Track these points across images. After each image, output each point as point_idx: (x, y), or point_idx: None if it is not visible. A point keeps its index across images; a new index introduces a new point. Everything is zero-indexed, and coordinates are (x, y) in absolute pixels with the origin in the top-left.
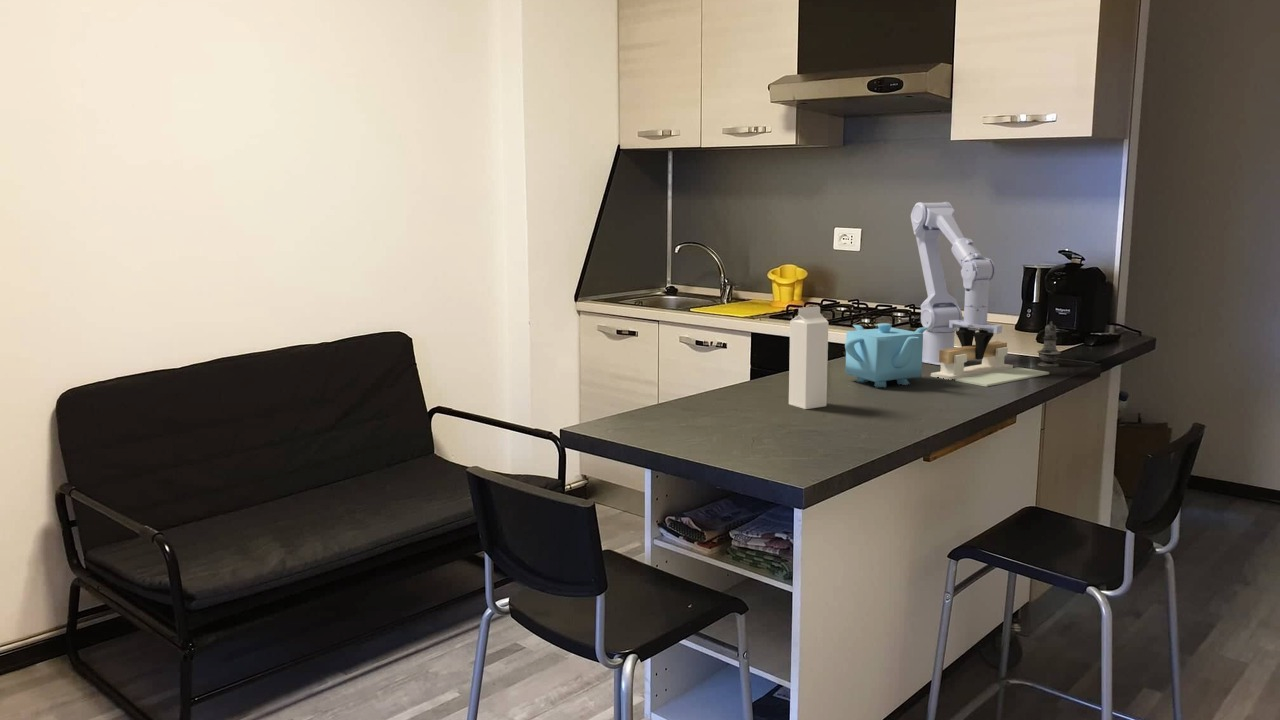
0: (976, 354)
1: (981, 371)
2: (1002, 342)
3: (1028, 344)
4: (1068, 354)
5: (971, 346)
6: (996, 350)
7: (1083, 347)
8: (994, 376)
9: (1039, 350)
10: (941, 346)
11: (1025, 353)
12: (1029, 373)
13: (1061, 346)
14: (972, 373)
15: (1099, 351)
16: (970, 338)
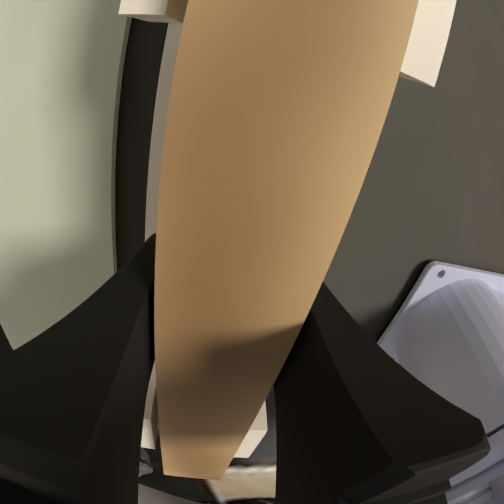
0: (153, 252)
1: (147, 196)
2: (178, 472)
3: None
4: (183, 482)
5: (235, 339)
6: (145, 408)
7: (204, 498)
8: (23, 126)
9: (151, 470)
10: (477, 352)
11: (251, 473)
12: (13, 305)
13: (233, 497)
14: (156, 95)
15: (167, 492)
16: (291, 442)
